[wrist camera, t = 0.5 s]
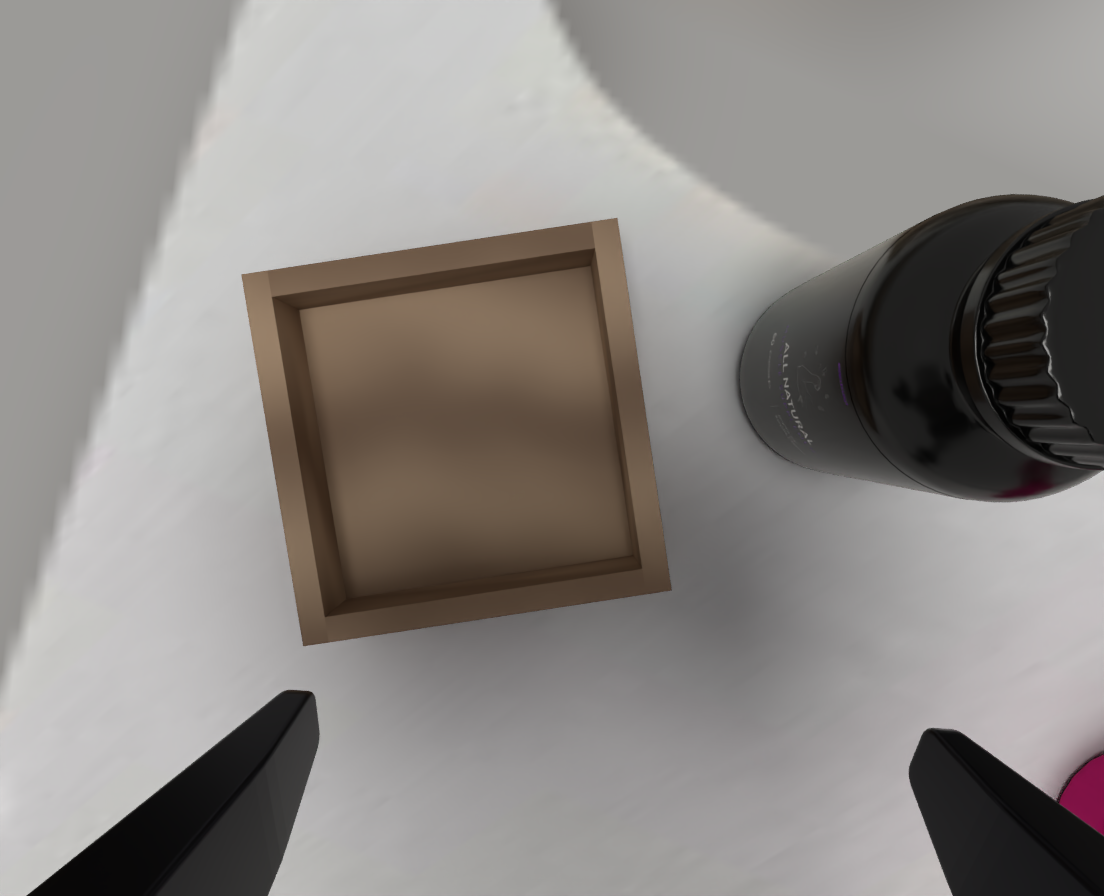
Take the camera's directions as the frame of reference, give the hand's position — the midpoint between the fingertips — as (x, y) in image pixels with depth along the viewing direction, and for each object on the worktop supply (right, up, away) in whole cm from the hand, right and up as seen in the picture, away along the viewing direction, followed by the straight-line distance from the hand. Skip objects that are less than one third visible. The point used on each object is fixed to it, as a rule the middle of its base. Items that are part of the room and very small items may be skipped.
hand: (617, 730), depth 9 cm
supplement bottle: (+9, +7, +13) cm, 17 cm away
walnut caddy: (-4, +5, +13) cm, 14 cm away
